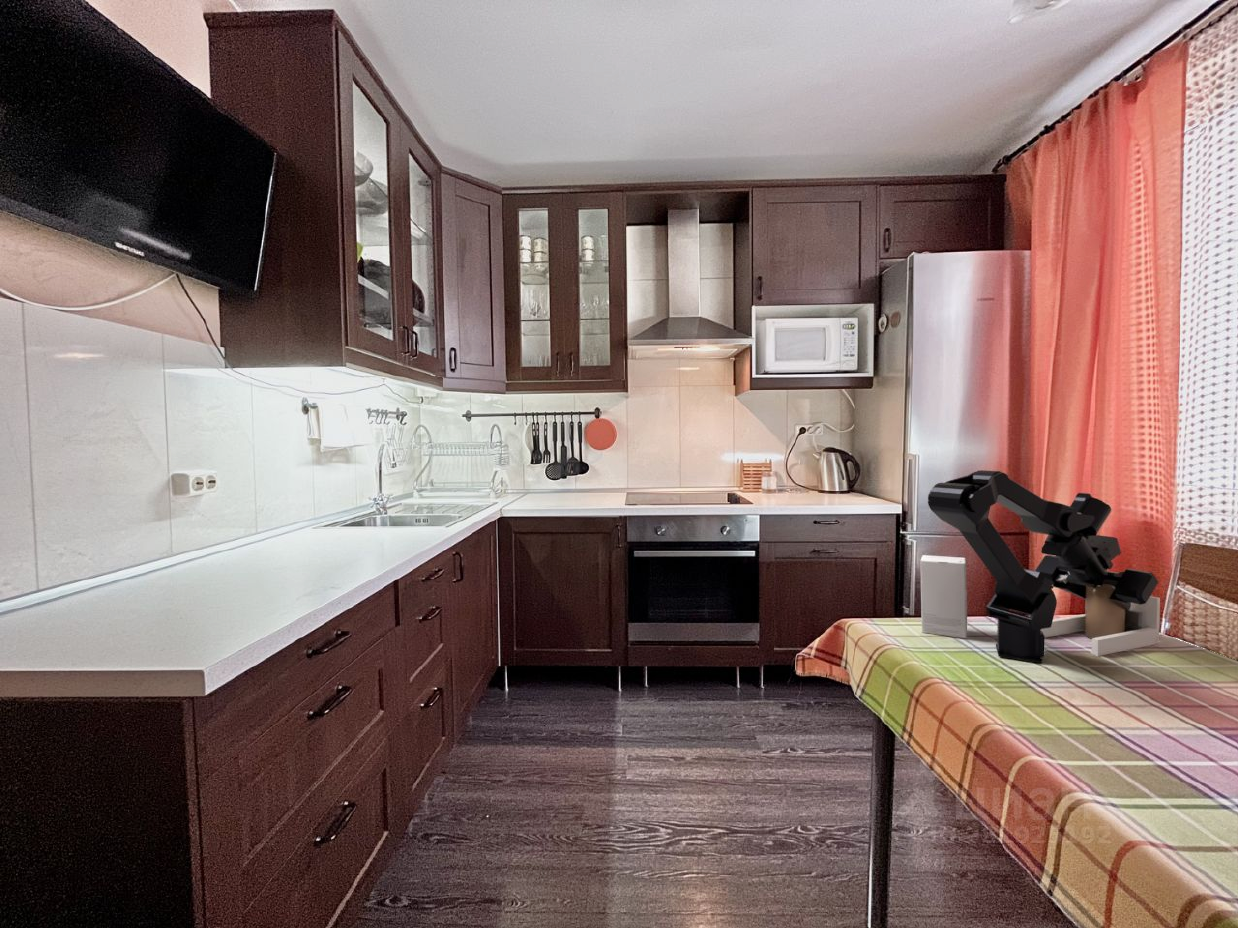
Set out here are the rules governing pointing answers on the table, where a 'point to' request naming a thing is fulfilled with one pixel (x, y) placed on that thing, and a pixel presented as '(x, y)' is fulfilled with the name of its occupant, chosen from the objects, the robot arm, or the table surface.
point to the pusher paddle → (1133, 620)
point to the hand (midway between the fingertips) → (1109, 604)
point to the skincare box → (944, 596)
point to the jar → (1102, 612)
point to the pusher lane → (1115, 641)
